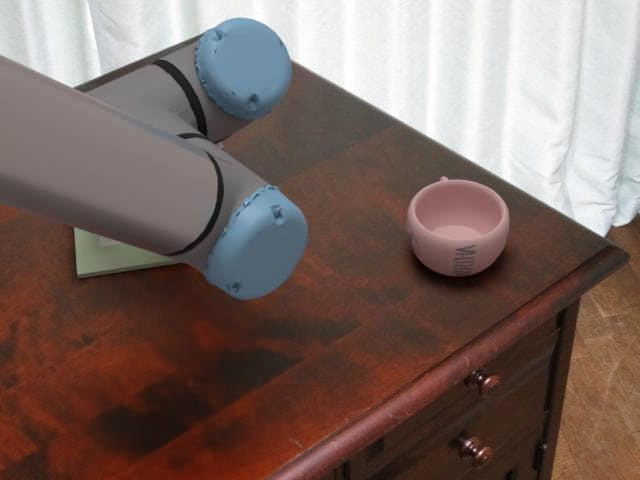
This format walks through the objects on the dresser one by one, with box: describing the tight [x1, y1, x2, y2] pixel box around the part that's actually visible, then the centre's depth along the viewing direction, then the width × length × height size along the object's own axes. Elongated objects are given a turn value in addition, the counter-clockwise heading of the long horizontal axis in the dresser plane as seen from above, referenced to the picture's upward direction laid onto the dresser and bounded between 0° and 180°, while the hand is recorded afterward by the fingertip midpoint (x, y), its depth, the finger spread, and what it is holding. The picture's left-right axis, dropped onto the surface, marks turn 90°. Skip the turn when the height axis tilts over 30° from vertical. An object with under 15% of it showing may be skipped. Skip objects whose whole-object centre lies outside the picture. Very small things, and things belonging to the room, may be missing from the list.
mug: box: [405, 176, 511, 277], centre depth 113 cm, size 12×10×6 cm
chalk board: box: [73, 227, 184, 279], centre depth 121 cm, size 22×12×1 cm, turn 11°
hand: (105, 174), depth 119 cm, fingers closed on eraser, 3 cm apart
